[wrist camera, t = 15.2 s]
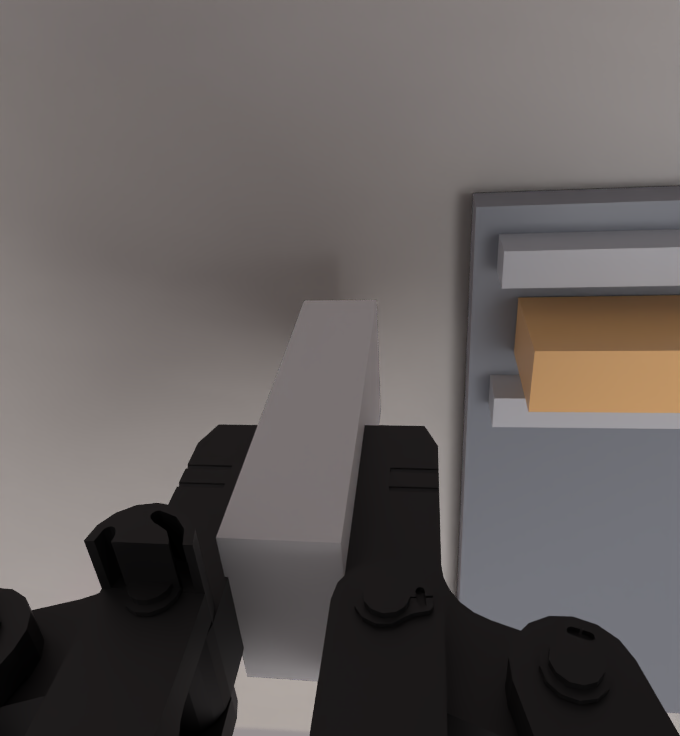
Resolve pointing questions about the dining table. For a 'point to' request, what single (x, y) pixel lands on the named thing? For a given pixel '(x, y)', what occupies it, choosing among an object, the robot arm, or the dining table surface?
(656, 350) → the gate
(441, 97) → the dining table surface
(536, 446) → the housing
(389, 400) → the dining table surface
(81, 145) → the dining table surface
